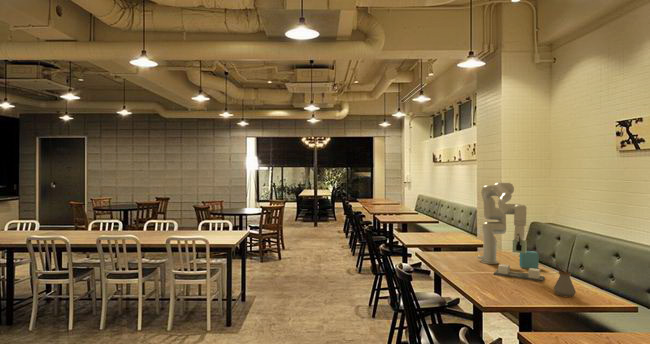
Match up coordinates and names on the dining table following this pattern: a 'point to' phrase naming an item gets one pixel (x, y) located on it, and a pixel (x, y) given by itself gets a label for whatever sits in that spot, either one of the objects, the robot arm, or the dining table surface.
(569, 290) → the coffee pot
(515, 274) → the rail plate
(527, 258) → the data package
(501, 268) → the mounted modules
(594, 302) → the dining table surface
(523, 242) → the module block
